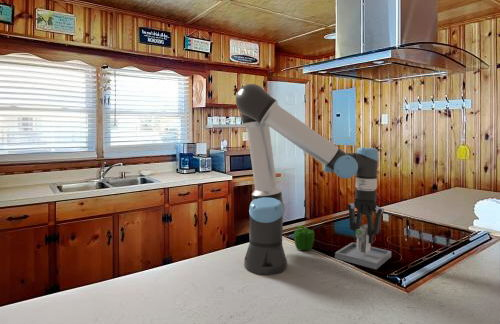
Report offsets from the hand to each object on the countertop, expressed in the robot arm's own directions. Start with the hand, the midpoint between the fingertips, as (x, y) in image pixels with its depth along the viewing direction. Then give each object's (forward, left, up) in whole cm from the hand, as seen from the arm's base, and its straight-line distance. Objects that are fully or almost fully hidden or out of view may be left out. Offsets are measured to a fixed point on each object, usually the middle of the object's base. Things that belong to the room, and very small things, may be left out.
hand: (363, 249), depth 125 cm
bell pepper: (-22, -7, -3) cm, 23 cm away
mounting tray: (0, 0, -3) cm, 3 cm away
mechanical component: (0, 0, -1) cm, 1 cm away
